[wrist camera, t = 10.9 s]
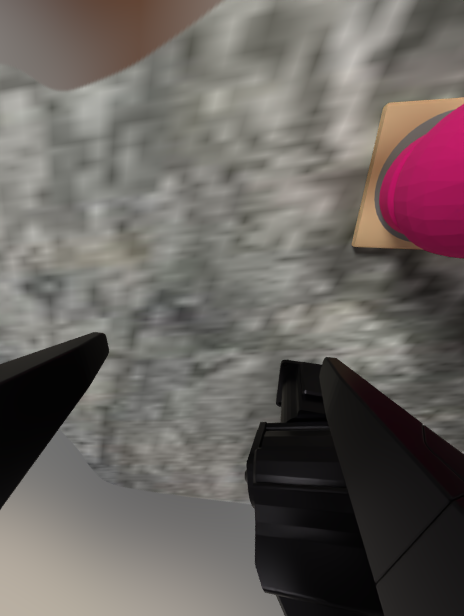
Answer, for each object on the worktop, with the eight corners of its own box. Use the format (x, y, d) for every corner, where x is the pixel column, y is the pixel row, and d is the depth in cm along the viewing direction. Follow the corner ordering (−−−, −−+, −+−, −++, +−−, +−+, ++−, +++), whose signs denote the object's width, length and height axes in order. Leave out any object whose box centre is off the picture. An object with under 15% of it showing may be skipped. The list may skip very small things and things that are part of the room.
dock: (478, 250, 16) (487, 252, 16) (351, 244, 18) (354, 246, 17) (551, 96, 13) (567, 90, 12) (383, 107, 14) (388, 102, 14)
